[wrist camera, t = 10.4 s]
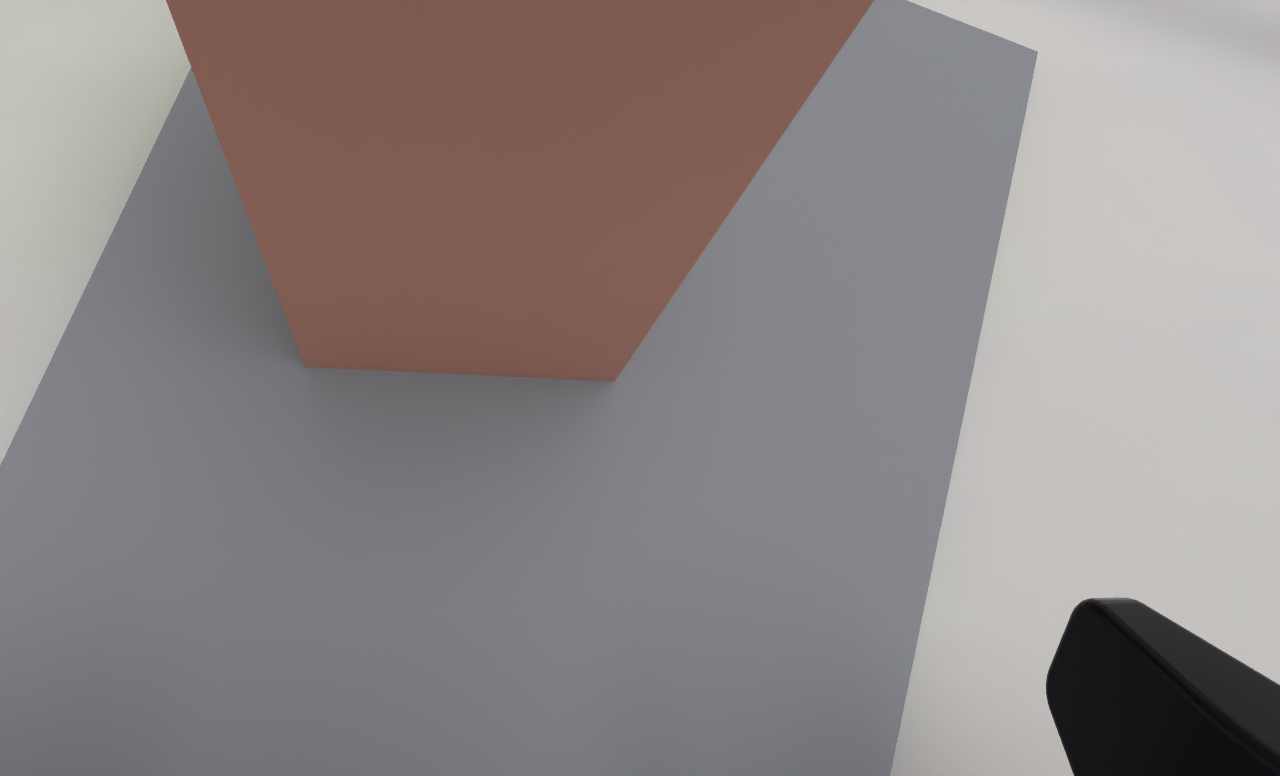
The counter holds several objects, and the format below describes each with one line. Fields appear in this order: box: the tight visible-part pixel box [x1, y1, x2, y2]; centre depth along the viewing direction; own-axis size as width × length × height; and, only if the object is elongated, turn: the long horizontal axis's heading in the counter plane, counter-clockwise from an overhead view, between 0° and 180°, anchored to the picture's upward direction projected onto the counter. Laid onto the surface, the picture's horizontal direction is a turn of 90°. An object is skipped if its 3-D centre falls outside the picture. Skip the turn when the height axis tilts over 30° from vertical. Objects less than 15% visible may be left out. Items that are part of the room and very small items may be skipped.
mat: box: [0, 0, 1038, 776], centre depth 16 cm, size 20×13×1 cm, turn 164°
